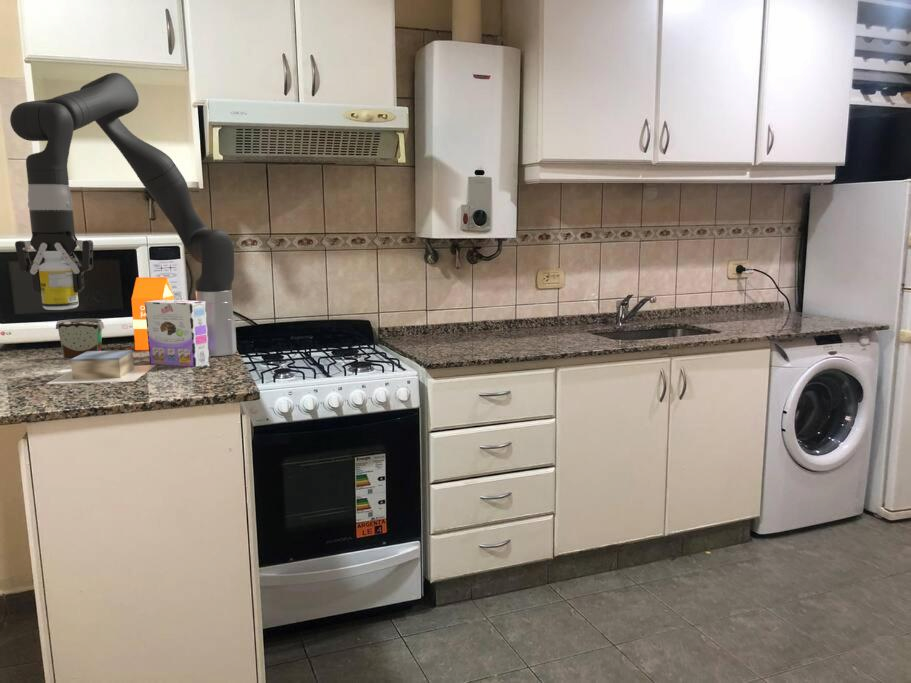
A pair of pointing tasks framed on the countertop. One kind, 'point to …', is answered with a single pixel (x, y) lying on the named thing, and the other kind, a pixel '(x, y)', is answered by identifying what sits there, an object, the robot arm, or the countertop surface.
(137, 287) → the orange juice
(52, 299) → the pill bottle
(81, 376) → the plinth
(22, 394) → the countertop surface
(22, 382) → the countertop surface
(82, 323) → the food container
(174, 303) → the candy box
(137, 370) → the baseplate
